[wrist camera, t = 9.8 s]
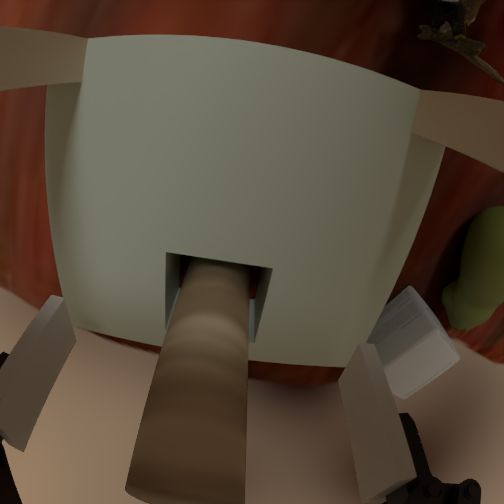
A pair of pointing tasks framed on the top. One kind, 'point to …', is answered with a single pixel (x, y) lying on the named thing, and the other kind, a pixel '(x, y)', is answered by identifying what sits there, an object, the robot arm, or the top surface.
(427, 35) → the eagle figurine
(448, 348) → the small box
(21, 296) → the top surface
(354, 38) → the top surface
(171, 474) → the peg
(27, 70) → the beige arch frame
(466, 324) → the pear
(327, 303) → the socket board
